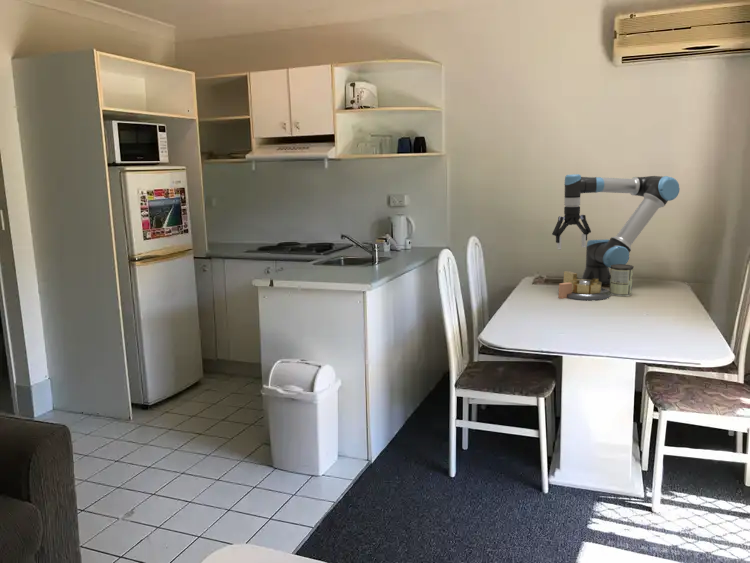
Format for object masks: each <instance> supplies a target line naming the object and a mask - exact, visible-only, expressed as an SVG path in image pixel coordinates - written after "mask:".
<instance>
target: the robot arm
mask: <svg viewBox="0 0 750 563" xmlns="http://www.w3.org/2000/svg"><path fill="white" fill-rule="evenodd" d="M677 180H678V179H676V178H674V177H672V176H667V175H665V176H662V175H661V176H659V175H649V176H635V177H634V176H633V177H632V178H624V177H623V178H620V177H619V178H617V177H616V178H615V177H600V176H598V177H597V176H594V177H593V176H582V175H581V174H577V173H576V174H575V173H573V174H566V175H565V177H564V202H563V203H564V207H563V208H564V211H563V214H564V216H558V219H557V223H556V225H555V227H554V229H553V231H552V234H551V235H552V236H555V243H556V250H562V236H561V235H562V234H563V233H564V231H565V230H566V228H567V227H568V226H572V225H573V226H574V225H576V226H577V227H578V228H579V230H580V231H581V240H580V242H581V244H580V245H581V246H580V247H581V248H586V253H585V254H586V256H585V257H586V258H585V268H584V272H583V273H582V276H581V279H588V280H593V278H597V279H599V282H602V284H605V285H610V279H611V270H610V269H611V265H614V264H626V265H627V264H628V262H629V261H630V252H632V247H631V246H632V245H633V243H635V241H636V239H637V238H638V237H639V236H640V234H641V233H642V232H643V230H644V229H645V227H646V226H647V225H648V223H649V222H650V221H651V219H653V217H654V216H655V214H656V213H657V212H658V210H659V209H661V208H664V207H665V206H666V204H668V203H669V202H670V201H673V200H675V199H676V198H678V196H679V194H680V184H679V182H678V181H677ZM594 193H595V194H596V193H612V194H613V193H614V194H630V195H631V196H636V197H643V199H642V201H641V202H640V203H639V205H638V207H637V208H636V209H635V210H634V211H633V213H632V214H631V216H630V217H629V218H628V219H627V221H626V222H625V224H624V225H623V226H622V227H621V229H620V230H619V232H618V233H617V235H616V236H612V237H610V238H609V239H606V238H605V239H589V240H588V235H589V234H590V233H591V232H592V231H591V228H590V226H589V224H588V223H589V222H588V221H587V218H586V214H580V213H581V194H594ZM580 220H581V222H582V223H581V222H580Z"/></svg>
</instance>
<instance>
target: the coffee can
mask: <svg viewBox="0 0 750 563" xmlns="http://www.w3.org/2000/svg"><path fill="white" fill-rule="evenodd" d="M610 275H611V279H610V284H609V291H610V296H611V295H612V296H614V295H616V296H615V297H631V296H632V294H633V293H632V291H633V278H634V265H631V264H627V263H626V264H614V265H611V268H610ZM630 295H631V296H630Z"/></svg>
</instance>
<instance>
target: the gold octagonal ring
mask: <svg viewBox="0 0 750 563" xmlns="http://www.w3.org/2000/svg"><path fill="white" fill-rule="evenodd" d="M580 280H588V279H582V278H578V273H576V272H573V271H570V270H567V271H565V270H564V271H563V282H562V283H568V282H569V283H572V292H574V293H582V294H594V293H600V292H601V288H602V282H599V279H597V278H593V280H589V281H590V285H583V284H579V281H580Z"/></svg>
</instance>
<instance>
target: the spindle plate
mask: <svg viewBox="0 0 750 563" xmlns="http://www.w3.org/2000/svg"><path fill="white" fill-rule="evenodd" d="M579 284H583V285H590V281H589V280H580V281H579ZM609 297H610V298H611V294H610V289H606V288H603V287H601V292H600V293H594V294H582V293H574V292H572V293H571V294H567V298H566V299H568V300H569V299H570V300H575V301H587V300H588V301H591V302H593V301H592V300H595V301H604V300H607V298H608V299H610V298H609ZM603 299H604V300H603Z"/></svg>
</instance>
